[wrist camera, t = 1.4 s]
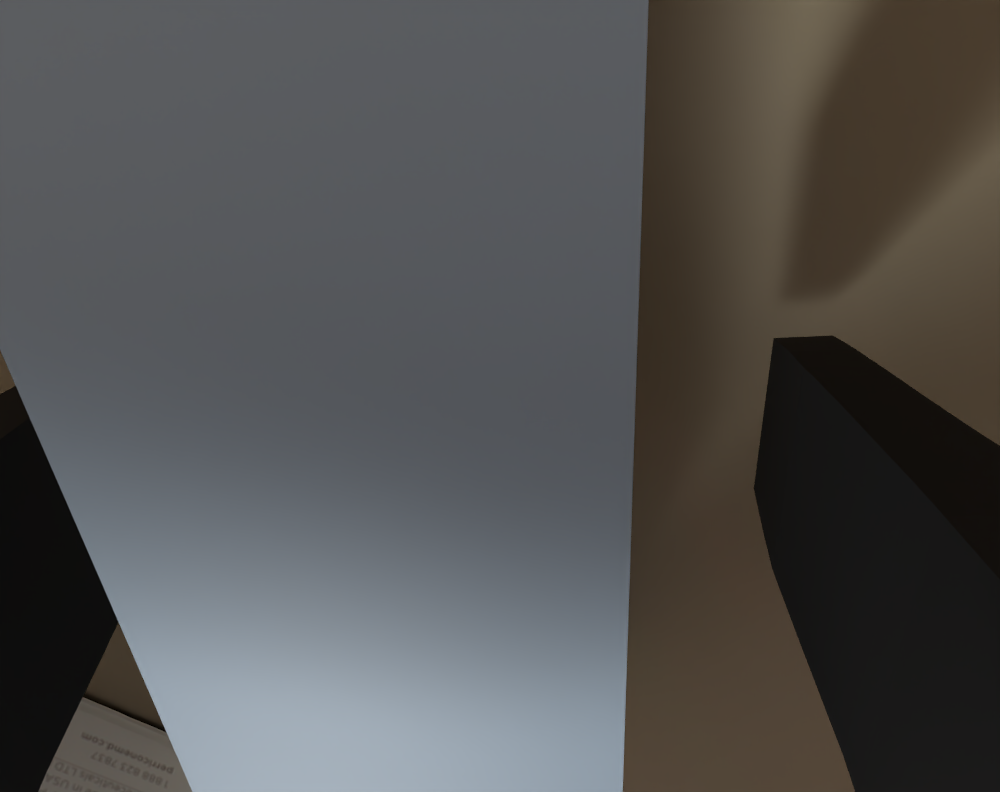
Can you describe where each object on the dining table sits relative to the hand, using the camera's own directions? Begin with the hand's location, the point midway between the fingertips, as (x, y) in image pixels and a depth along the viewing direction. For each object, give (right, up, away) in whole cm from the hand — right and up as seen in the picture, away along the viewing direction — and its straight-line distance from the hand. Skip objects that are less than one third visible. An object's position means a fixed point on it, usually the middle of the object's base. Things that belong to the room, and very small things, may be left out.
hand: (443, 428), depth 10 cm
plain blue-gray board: (0, +1, +1) cm, 2 cm away
